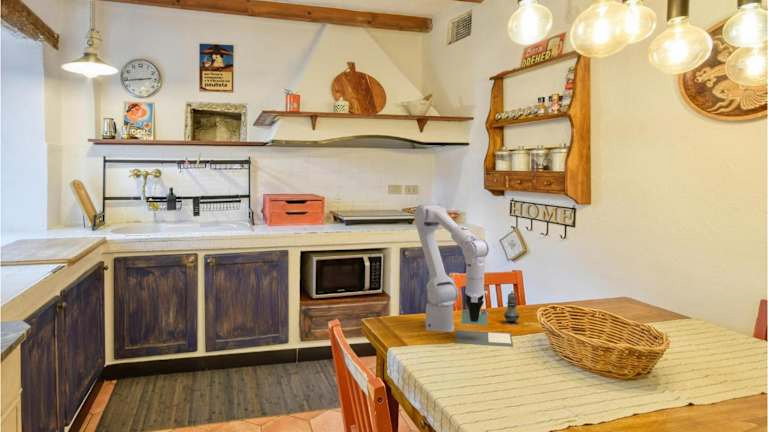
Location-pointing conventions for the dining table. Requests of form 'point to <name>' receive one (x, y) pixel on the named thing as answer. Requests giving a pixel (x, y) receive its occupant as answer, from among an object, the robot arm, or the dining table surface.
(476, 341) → the mat
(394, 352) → the dining table surface
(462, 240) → the robot arm
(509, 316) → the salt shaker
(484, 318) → the teal block
